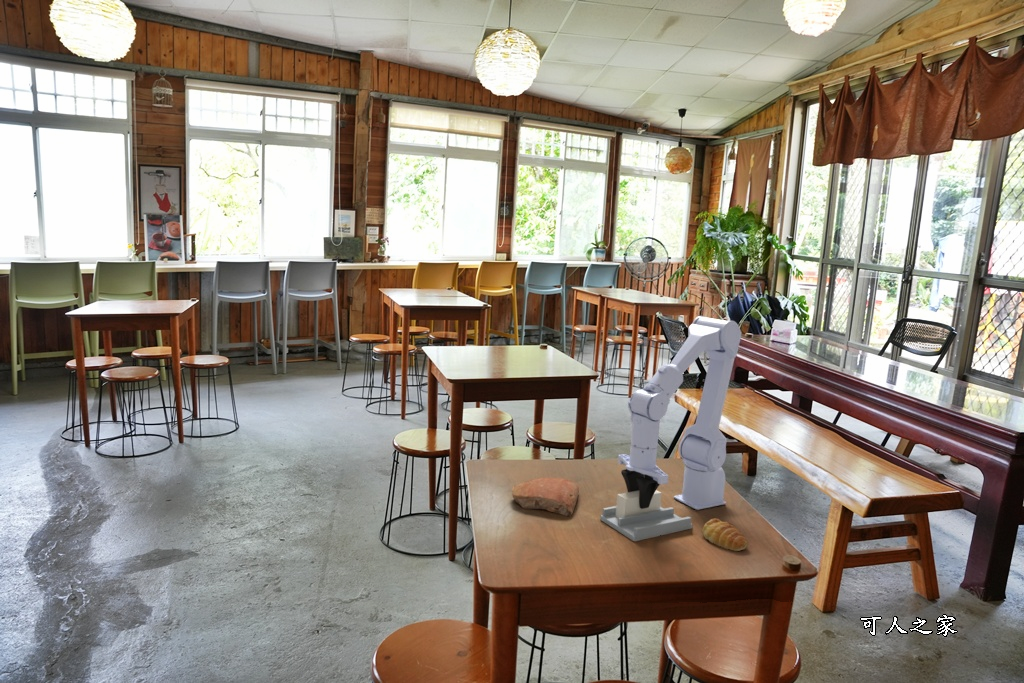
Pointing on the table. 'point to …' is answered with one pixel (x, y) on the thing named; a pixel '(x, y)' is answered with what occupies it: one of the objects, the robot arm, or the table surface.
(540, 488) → the ceramic shard
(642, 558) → the table surface
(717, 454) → the robot arm
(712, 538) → the pastry
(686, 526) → the grey ridged tray
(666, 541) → the table surface
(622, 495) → the white rectangular block
